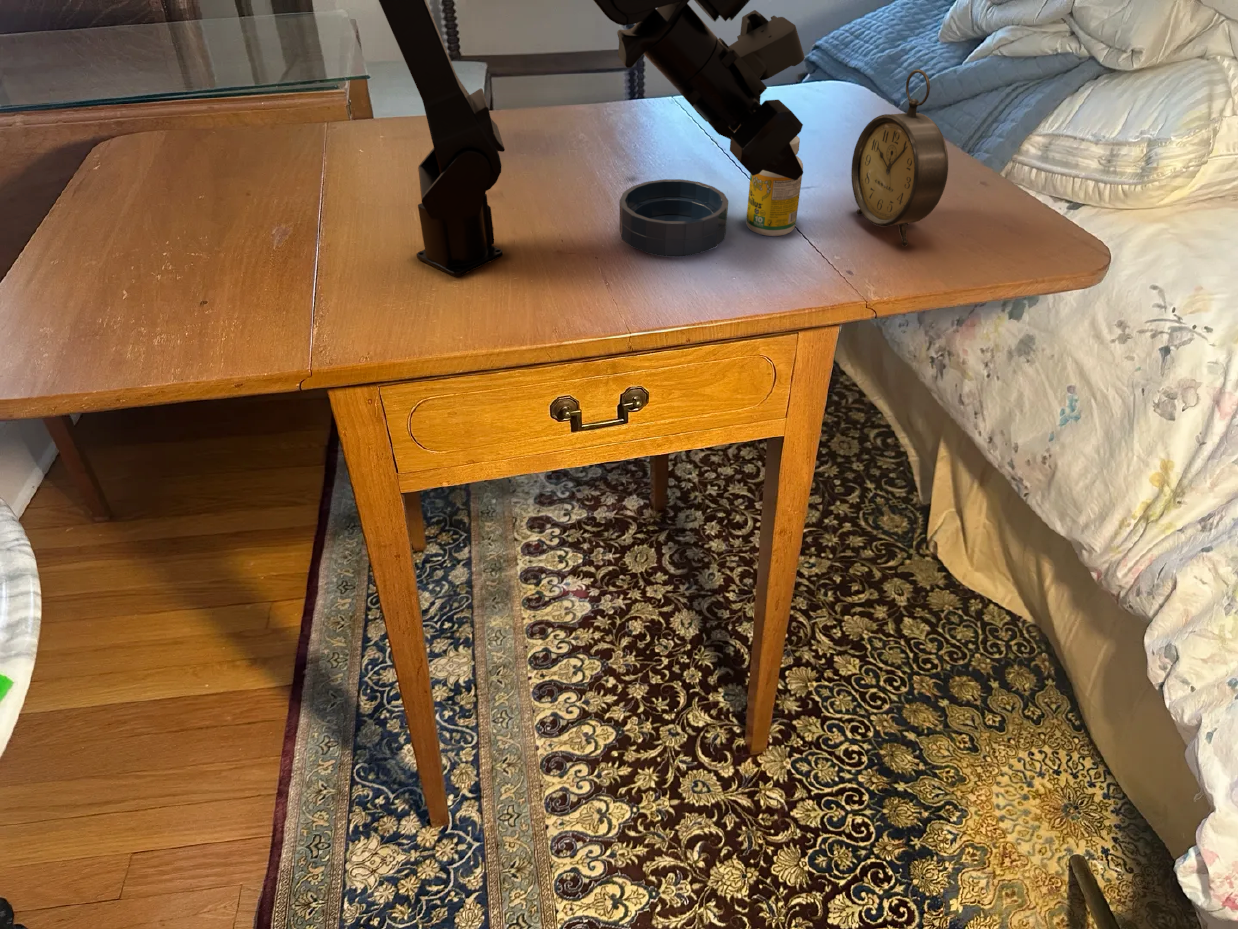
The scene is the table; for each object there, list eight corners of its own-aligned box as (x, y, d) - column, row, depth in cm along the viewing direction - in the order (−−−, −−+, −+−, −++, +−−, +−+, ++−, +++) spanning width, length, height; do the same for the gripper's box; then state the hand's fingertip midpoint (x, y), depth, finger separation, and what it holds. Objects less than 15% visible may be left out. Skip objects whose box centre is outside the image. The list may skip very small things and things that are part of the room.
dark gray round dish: (681, 271, 86) (683, 233, 84) (598, 238, 92) (597, 202, 89) (746, 233, 93) (749, 198, 90) (664, 205, 98) (665, 170, 96)
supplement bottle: (802, 234, 92) (815, 145, 86) (754, 239, 92) (763, 149, 85) (785, 213, 96) (796, 126, 90) (739, 218, 96) (747, 130, 89)
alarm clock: (840, 212, 97) (866, 57, 86) (881, 204, 98) (912, 52, 88) (896, 254, 89) (933, 89, 78) (940, 245, 90) (982, 83, 80)
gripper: (794, 13, 71) (891, 137, 80) (725, -32, 85) (814, 78, 94) (697, 118, 75) (800, 225, 84) (647, 58, 89) (739, 155, 98)
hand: (789, 165), depth 90 cm, fingers closed on supplement bottle, 5 cm apart
